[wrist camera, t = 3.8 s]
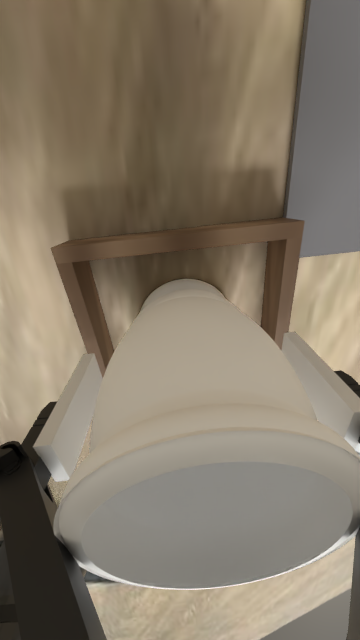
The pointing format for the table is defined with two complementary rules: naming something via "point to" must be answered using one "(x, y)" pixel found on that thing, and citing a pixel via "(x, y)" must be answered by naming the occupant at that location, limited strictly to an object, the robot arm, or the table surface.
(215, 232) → the holder frame
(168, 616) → the table surface
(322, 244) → the felt pad
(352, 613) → the robot arm
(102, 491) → the jar
